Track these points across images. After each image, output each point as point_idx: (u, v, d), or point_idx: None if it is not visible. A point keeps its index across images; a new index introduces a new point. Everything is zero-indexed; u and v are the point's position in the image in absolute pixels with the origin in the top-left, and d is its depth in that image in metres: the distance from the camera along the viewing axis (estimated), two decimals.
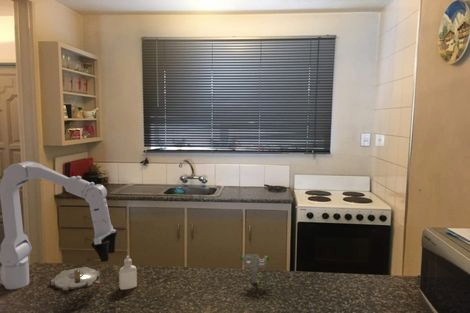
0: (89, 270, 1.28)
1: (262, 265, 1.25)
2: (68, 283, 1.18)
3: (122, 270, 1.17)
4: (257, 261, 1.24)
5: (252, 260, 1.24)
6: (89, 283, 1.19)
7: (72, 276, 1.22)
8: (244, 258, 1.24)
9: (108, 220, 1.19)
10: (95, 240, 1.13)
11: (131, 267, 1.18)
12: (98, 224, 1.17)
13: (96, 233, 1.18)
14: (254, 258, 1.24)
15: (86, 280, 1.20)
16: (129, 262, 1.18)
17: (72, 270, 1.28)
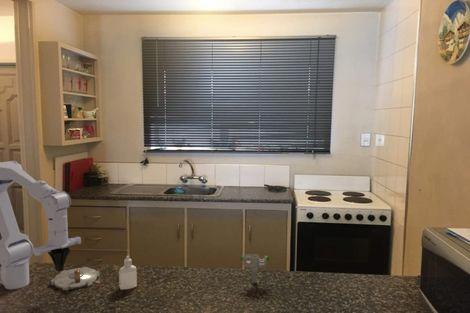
0: (89, 270, 1.28)
1: (262, 265, 1.25)
2: (68, 283, 1.18)
3: (122, 270, 1.17)
4: (257, 261, 1.24)
5: (252, 260, 1.24)
6: (89, 283, 1.19)
7: (72, 276, 1.22)
8: (244, 258, 1.24)
9: (59, 233, 1.10)
10: (34, 250, 1.07)
11: (131, 267, 1.18)
12: (48, 234, 1.10)
13: None
14: (254, 258, 1.24)
15: (86, 280, 1.20)
16: (129, 262, 1.18)
17: (72, 270, 1.28)
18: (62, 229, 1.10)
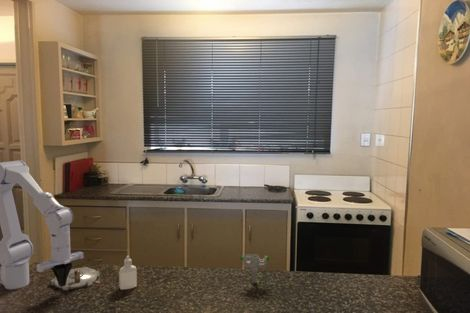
0: (89, 270, 1.28)
1: (262, 265, 1.25)
2: (68, 283, 1.18)
3: (122, 270, 1.17)
4: (257, 261, 1.24)
5: (252, 260, 1.24)
6: (89, 283, 1.19)
7: (72, 276, 1.22)
8: (244, 258, 1.24)
9: (62, 249, 1.11)
10: (37, 267, 1.08)
11: (131, 267, 1.18)
12: (51, 250, 1.11)
13: None
14: (254, 258, 1.24)
15: (86, 280, 1.20)
16: (129, 262, 1.18)
17: (72, 270, 1.28)
18: (65, 245, 1.11)
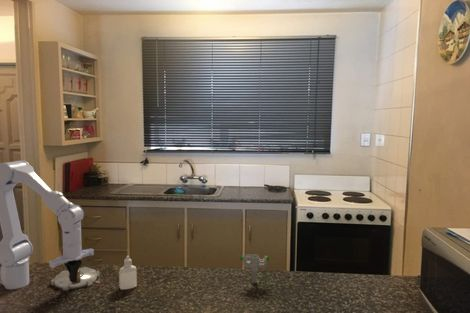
0: (89, 270, 1.28)
1: (262, 265, 1.25)
2: (68, 283, 1.18)
3: (122, 270, 1.17)
4: (257, 261, 1.24)
5: (252, 260, 1.24)
6: (89, 283, 1.20)
7: None
8: (244, 258, 1.24)
9: (74, 246, 1.14)
10: (50, 263, 1.11)
11: (131, 267, 1.18)
12: (63, 247, 1.14)
13: (63, 254, 1.16)
14: (254, 258, 1.24)
15: (86, 280, 1.20)
16: (129, 262, 1.18)
17: None
18: (78, 241, 1.15)
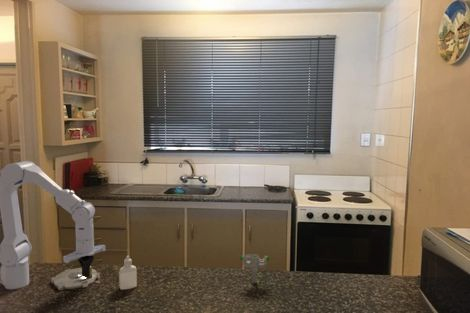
0: (78, 269, 1.29)
1: (262, 265, 1.25)
2: (82, 280, 1.20)
3: (122, 270, 1.17)
4: (257, 261, 1.24)
5: (252, 260, 1.24)
6: (99, 275, 1.26)
7: (75, 276, 1.22)
8: (244, 258, 1.24)
9: (86, 242, 1.17)
10: (64, 258, 1.14)
11: (131, 267, 1.18)
12: (76, 243, 1.18)
13: (76, 250, 1.19)
14: (254, 258, 1.24)
15: (95, 274, 1.25)
16: (129, 262, 1.18)
17: (61, 274, 1.24)
18: (92, 237, 1.19)
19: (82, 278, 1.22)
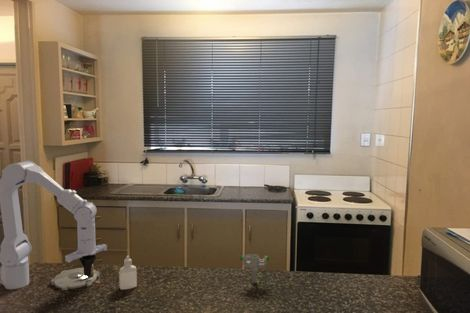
0: (75, 270, 1.28)
1: (262, 265, 1.25)
2: (85, 279, 1.21)
3: (122, 270, 1.17)
4: (257, 261, 1.24)
5: (252, 260, 1.24)
6: None
7: (76, 276, 1.22)
8: (244, 258, 1.24)
9: (88, 241, 1.18)
10: (66, 257, 1.15)
11: (131, 267, 1.18)
12: (78, 242, 1.18)
13: (78, 249, 1.20)
14: (254, 258, 1.24)
15: (95, 272, 1.26)
16: (129, 262, 1.18)
17: (59, 276, 1.23)
18: (93, 236, 1.20)
19: (84, 277, 1.22)
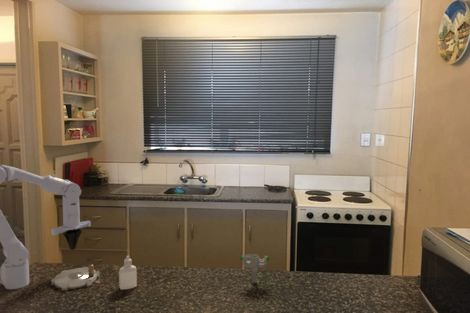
0: (75, 270, 1.28)
1: (262, 265, 1.25)
2: (85, 279, 1.21)
3: (122, 270, 1.17)
4: (257, 261, 1.24)
5: (252, 260, 1.24)
6: None
7: (76, 276, 1.22)
8: (244, 258, 1.24)
9: (73, 216, 1.28)
10: (51, 231, 1.25)
11: (131, 267, 1.18)
12: (63, 217, 1.28)
13: None
14: (254, 258, 1.24)
15: (95, 272, 1.26)
16: (129, 262, 1.18)
17: (59, 276, 1.23)
18: (79, 211, 1.31)
19: (84, 277, 1.22)
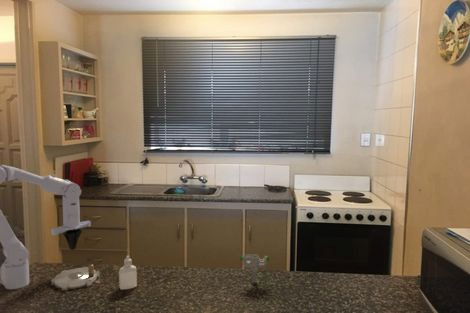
0: (75, 270, 1.28)
1: (262, 265, 1.25)
2: (85, 279, 1.21)
3: (122, 270, 1.17)
4: (257, 261, 1.24)
5: (252, 260, 1.24)
6: None
7: (76, 276, 1.22)
8: (244, 258, 1.24)
9: (73, 216, 1.28)
10: (51, 231, 1.25)
11: (131, 267, 1.18)
12: (63, 217, 1.28)
13: None
14: (254, 258, 1.24)
15: (95, 272, 1.26)
16: (129, 262, 1.18)
17: (59, 276, 1.23)
18: (79, 211, 1.31)
19: (84, 277, 1.22)
